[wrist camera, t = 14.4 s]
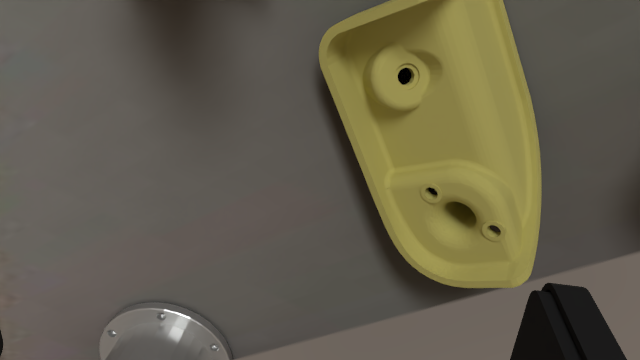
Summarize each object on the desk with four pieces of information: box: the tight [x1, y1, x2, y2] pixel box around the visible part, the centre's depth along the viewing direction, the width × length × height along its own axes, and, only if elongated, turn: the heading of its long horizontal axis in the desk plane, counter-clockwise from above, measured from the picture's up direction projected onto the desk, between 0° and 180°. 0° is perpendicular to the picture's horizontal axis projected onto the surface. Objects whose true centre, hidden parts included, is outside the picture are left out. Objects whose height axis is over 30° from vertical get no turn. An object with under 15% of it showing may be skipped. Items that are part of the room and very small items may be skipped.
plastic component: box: [319, 0, 541, 288], centre depth 37 cm, size 20×7×10 cm
